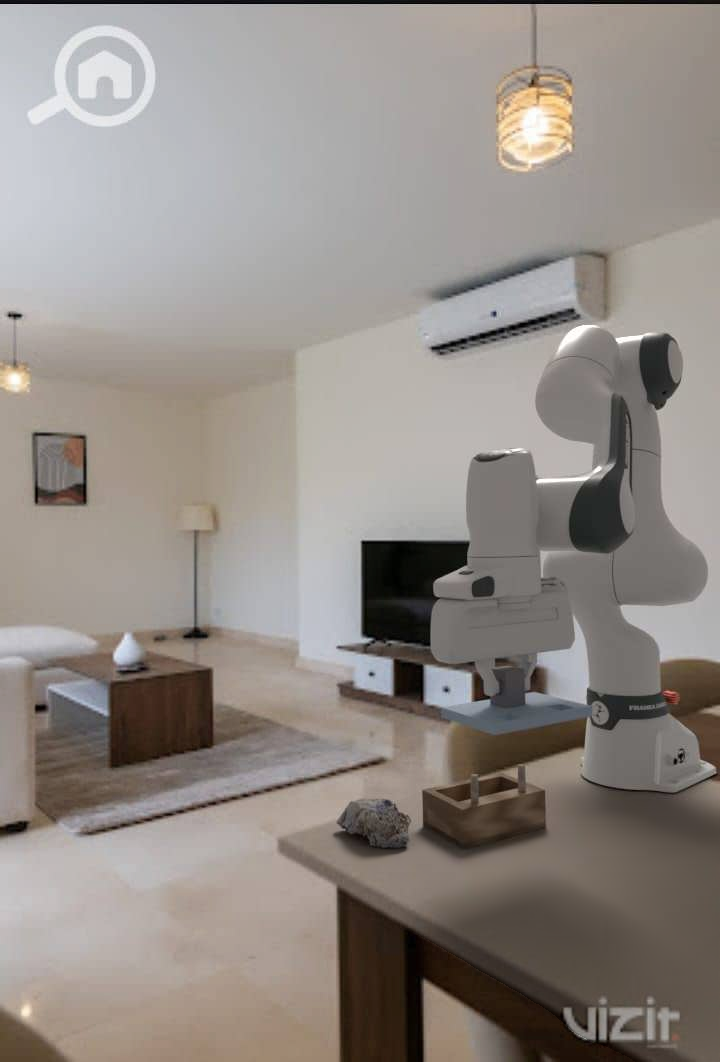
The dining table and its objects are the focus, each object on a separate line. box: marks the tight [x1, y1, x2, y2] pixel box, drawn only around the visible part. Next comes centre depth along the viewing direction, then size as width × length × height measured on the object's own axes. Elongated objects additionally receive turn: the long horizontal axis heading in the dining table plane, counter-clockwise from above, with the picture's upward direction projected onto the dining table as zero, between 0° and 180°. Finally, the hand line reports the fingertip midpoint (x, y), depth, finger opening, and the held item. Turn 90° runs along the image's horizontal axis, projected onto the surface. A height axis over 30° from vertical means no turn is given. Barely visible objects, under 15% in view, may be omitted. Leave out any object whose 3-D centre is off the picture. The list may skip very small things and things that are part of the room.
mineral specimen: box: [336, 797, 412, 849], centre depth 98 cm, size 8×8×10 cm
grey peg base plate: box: [440, 665, 592, 736], centre depth 90 cm, size 15×10×6 cm, turn 119°
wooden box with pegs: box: [421, 763, 547, 850], centre depth 101 cm, size 14×9×8 cm, turn 119°
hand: (507, 692), depth 91 cm, fingers closed on grey peg base plate, 3 cm apart
